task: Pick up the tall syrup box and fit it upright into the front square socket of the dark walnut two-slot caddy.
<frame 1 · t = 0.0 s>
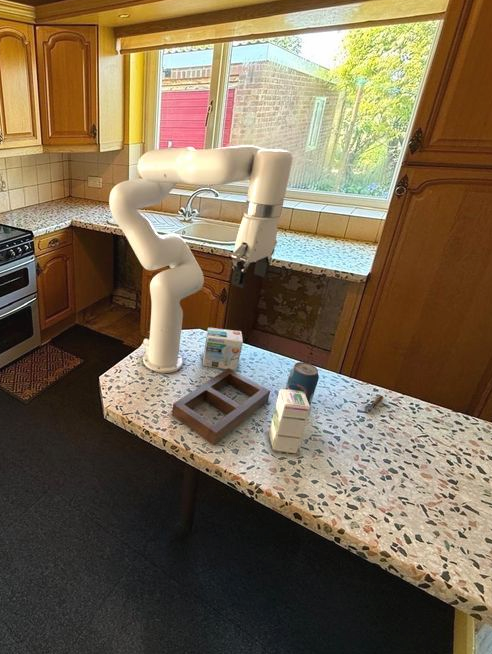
hand: (249, 280, 96), 37 cm above the countertop, tool pointing down, fingers open, 9 cm apart
soda can: (295, 403, 111), on the countertop
syrup box: (281, 444, 98), on the countertop
light bulb box: (219, 363, 128), on the countertop
caddy: (220, 408, 109), on the countertop
can opener: (373, 405, 111), on the countertop
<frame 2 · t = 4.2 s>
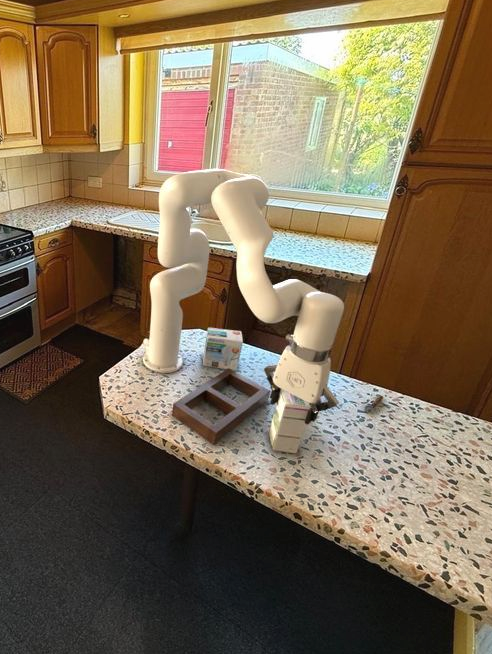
hand: (291, 411, 93), 10 cm above the countertop, tool pointing down, fingers closed on syrup box, 7 cm apart
syrup box: (281, 444, 98), on the countertop, touching gripper
everything else where it was.
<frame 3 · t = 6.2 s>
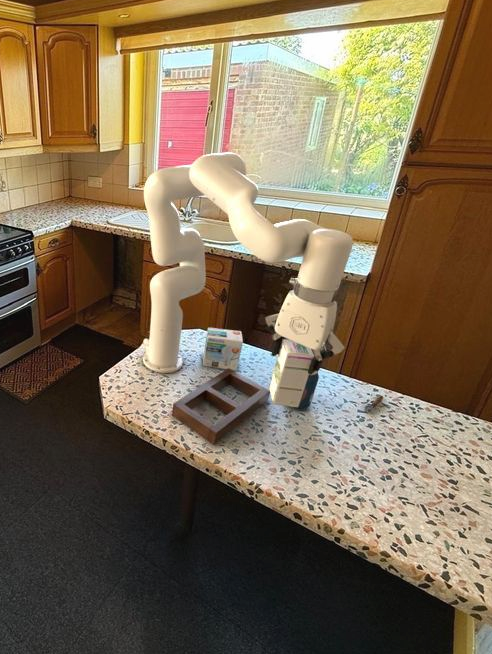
hand: (293, 362, 89), 23 cm above the countertop, tool pointing down, fingers closed on syrup box, 7 cm apart
syrup box: (282, 398, 93), point 13 cm above the countertop, touching gripper
everything else where it was.
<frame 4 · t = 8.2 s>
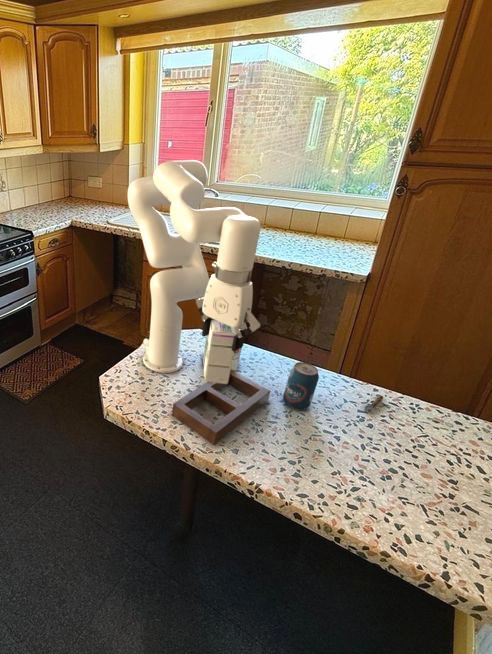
hand: (221, 341, 95), 24 cm above the countertop, tool pointing down, fingers closed on syrup box, 7 cm apart
syrup box: (214, 376, 100), point 14 cm above the countertop, touching gripper
everything else where it was.
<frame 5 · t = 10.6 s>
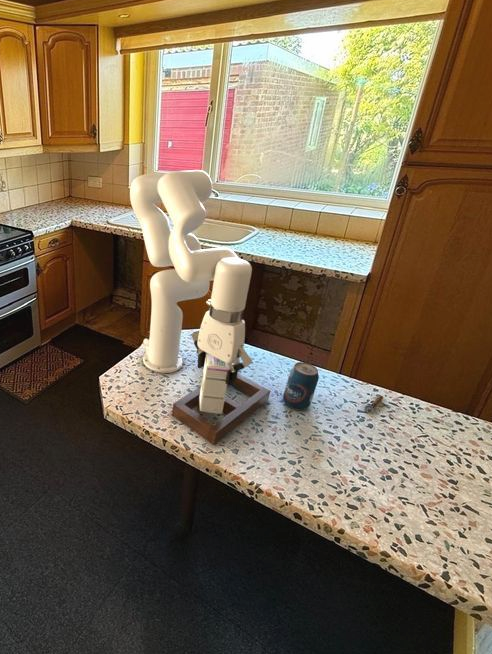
hand: (215, 373, 99), 15 cm above the countertop, tool pointing down, fingers closed on syrup box, 7 cm apart
syrup box: (209, 406, 104), point 4 cm above the countertop, touching gripper
everything else where it was.
when the fingers open (10 cm above the countertop, at t = 12.4 s): syrup box stays where it is, resting in caddy.
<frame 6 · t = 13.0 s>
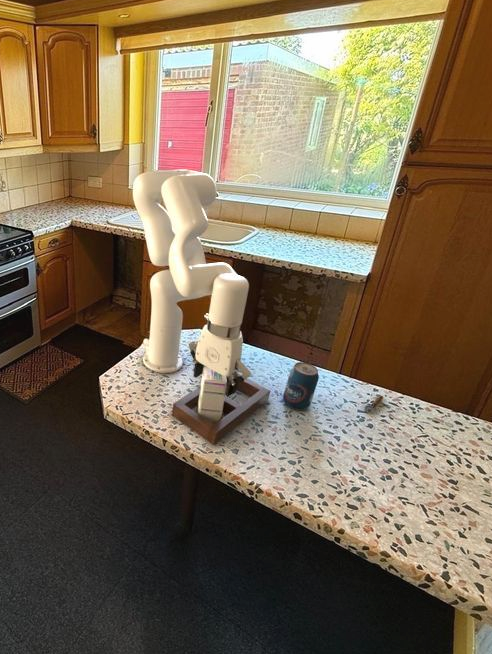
hand: (213, 384, 101), 11 cm above the countertop, tool pointing down, fingers open, 9 cm apart
syrup box: (207, 418, 106), resting in caddy
everything else where it was.
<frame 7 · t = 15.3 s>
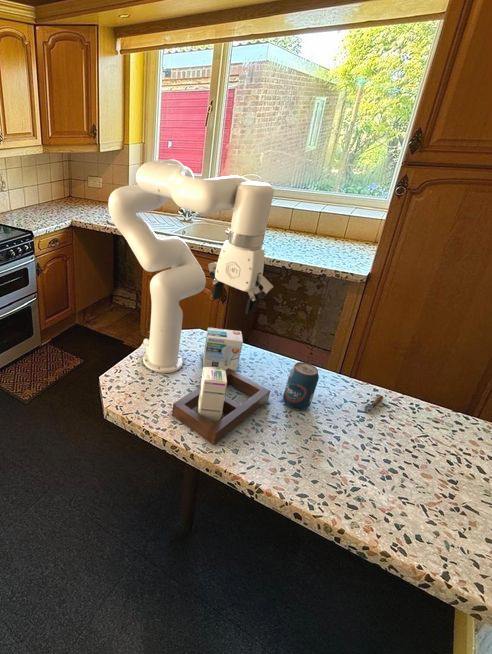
hand: (232, 305, 99), 30 cm above the countertop, tool pointing down, fingers open, 9 cm apart
nothing on the countertop moved.
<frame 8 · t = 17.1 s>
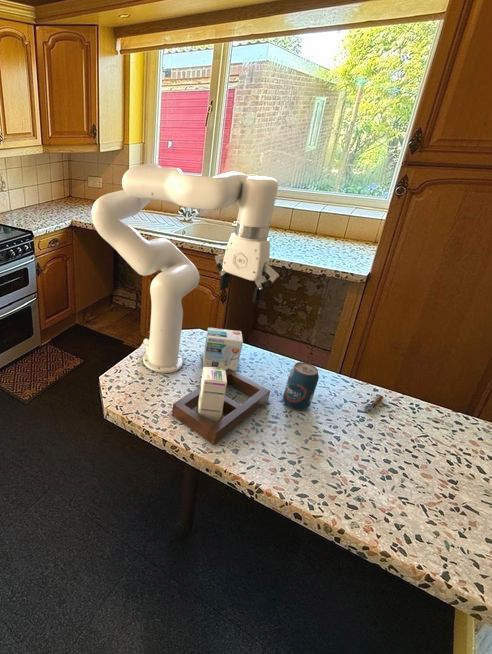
hand: (239, 294, 103), 30 cm above the countertop, tool pointing down, fingers open, 9 cm apart
nothing on the countertop moved.
at the end: syrup box 0.0 cm from the target spot in the caddy, point 0.0 cm above the caddy's base; syrup box tilted 0° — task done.
